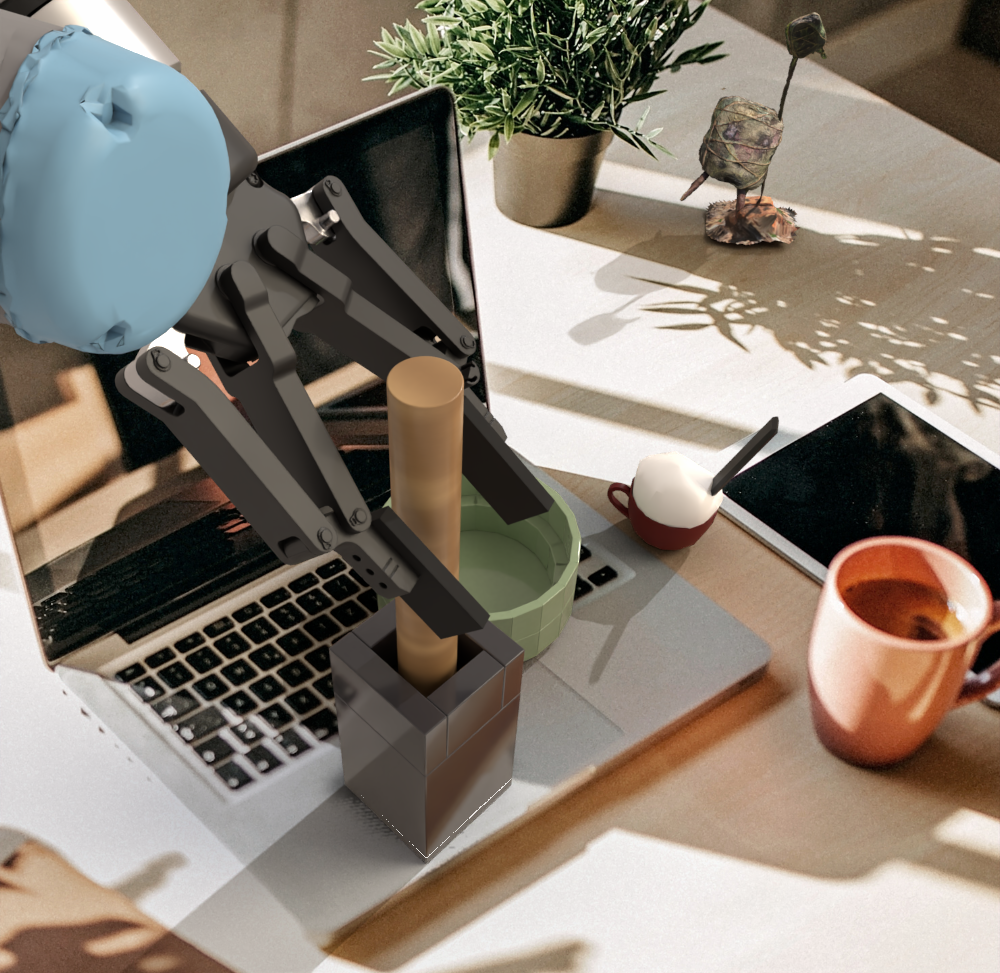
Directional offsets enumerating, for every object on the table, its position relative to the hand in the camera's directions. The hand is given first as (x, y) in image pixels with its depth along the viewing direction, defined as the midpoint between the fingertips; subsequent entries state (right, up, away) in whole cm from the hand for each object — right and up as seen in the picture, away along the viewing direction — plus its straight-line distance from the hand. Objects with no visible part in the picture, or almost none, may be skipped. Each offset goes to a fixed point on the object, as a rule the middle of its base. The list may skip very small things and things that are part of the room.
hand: (499, 567), depth 50 cm
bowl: (-2, -4, +27) cm, 27 cm away
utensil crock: (-4, -14, +17) cm, 23 cm away
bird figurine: (+23, +28, +58) cm, 69 cm away
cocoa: (+12, 0, +32) cm, 34 cm away
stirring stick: (-4, -7, +10) cm, 13 cm away
